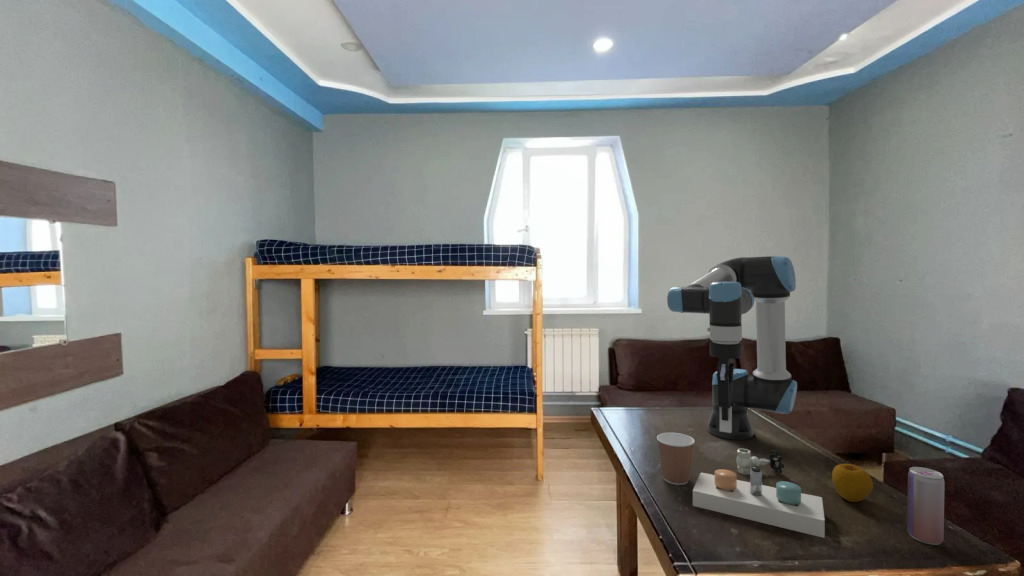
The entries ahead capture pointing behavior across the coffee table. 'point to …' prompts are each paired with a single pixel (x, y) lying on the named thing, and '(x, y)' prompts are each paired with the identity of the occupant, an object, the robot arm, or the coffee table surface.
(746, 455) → the valve
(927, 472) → the beverage can
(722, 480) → the knob terracotta
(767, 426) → the coffee table surface
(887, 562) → the coffee table surface
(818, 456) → the coffee table surface
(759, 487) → the pot post
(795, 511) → the mount board
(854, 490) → the apple
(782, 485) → the knob teal
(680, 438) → the coffee cup
